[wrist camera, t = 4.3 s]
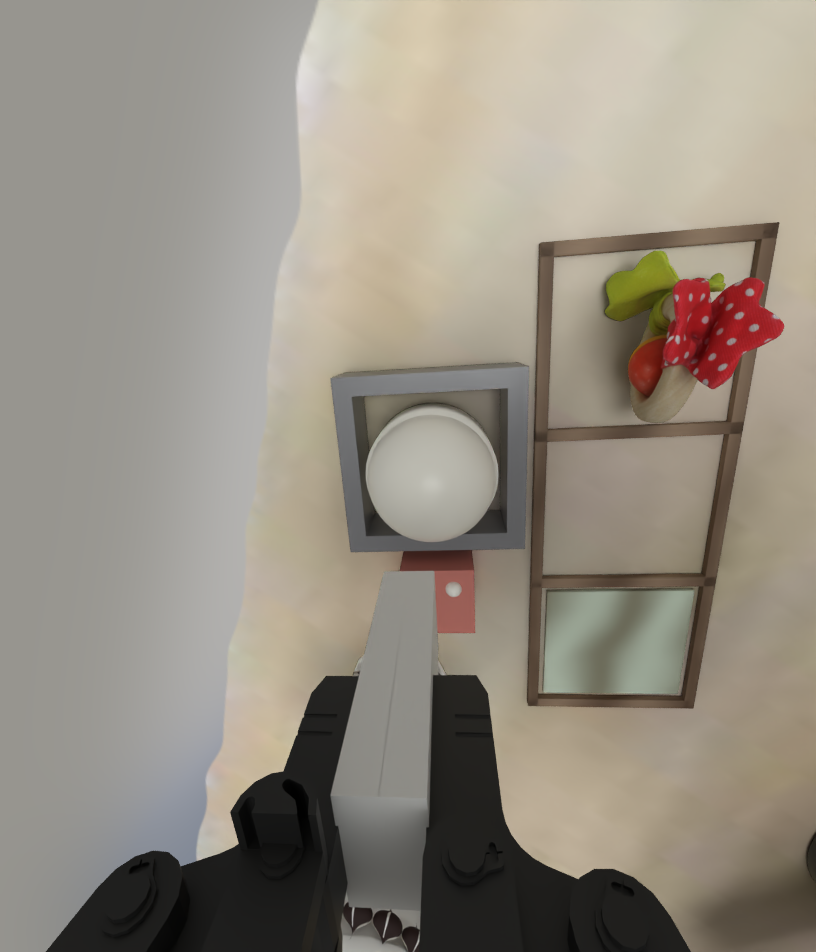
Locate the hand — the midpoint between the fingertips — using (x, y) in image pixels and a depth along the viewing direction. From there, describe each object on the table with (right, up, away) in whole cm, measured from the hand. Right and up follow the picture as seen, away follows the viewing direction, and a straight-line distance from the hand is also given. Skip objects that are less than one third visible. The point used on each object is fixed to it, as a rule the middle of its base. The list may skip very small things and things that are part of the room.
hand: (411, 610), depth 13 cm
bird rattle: (+15, +13, +15) cm, 25 cm away
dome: (+2, +5, +16) cm, 17 cm away
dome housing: (+2, +3, +20) cm, 20 cm away
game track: (+16, +2, +19) cm, 25 cm away
